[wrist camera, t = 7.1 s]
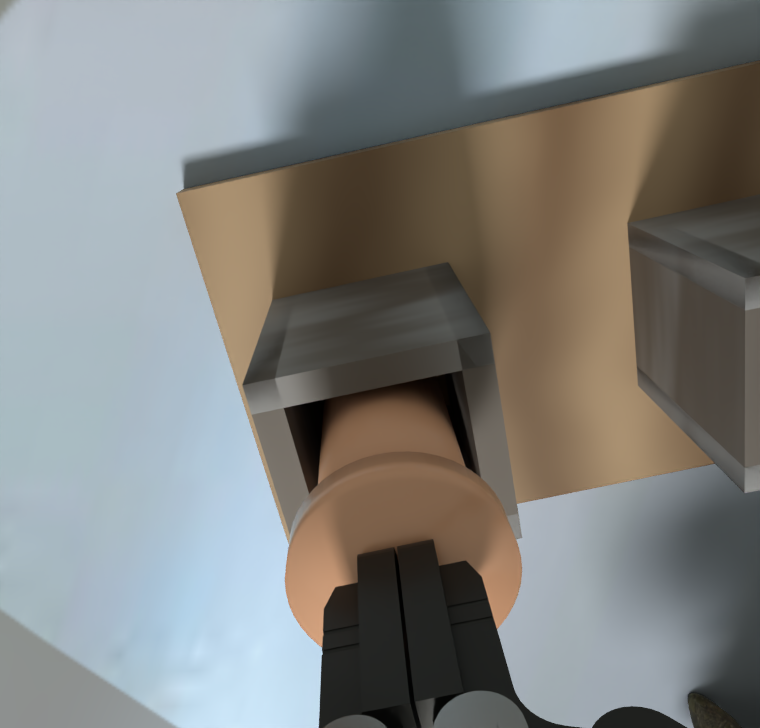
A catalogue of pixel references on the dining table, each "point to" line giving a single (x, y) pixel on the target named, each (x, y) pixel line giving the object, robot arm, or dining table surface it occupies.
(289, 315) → the board
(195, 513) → the dining table surface
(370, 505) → the terracotta plug
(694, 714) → the vessel
